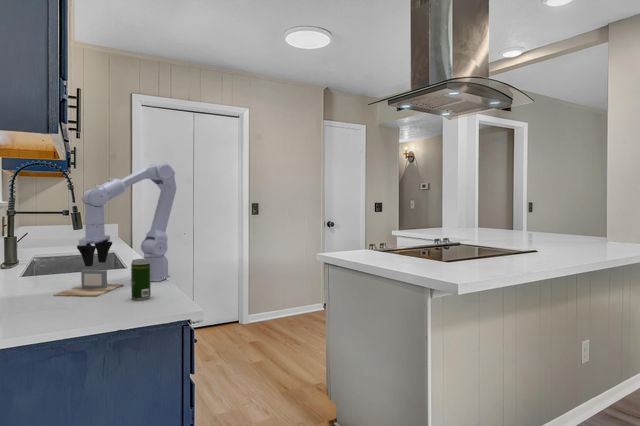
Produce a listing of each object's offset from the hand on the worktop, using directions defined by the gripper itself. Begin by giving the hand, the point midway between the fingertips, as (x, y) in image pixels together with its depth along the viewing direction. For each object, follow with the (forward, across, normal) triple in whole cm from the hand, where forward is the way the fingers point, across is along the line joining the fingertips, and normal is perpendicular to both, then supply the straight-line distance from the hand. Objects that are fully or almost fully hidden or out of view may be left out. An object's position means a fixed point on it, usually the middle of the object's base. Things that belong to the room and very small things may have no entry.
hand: (95, 264), depth 138 cm
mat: (+8, +3, 0) cm, 9 cm away
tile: (+8, +1, 0) cm, 8 cm away
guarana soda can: (+9, +12, +22) cm, 26 cm away
